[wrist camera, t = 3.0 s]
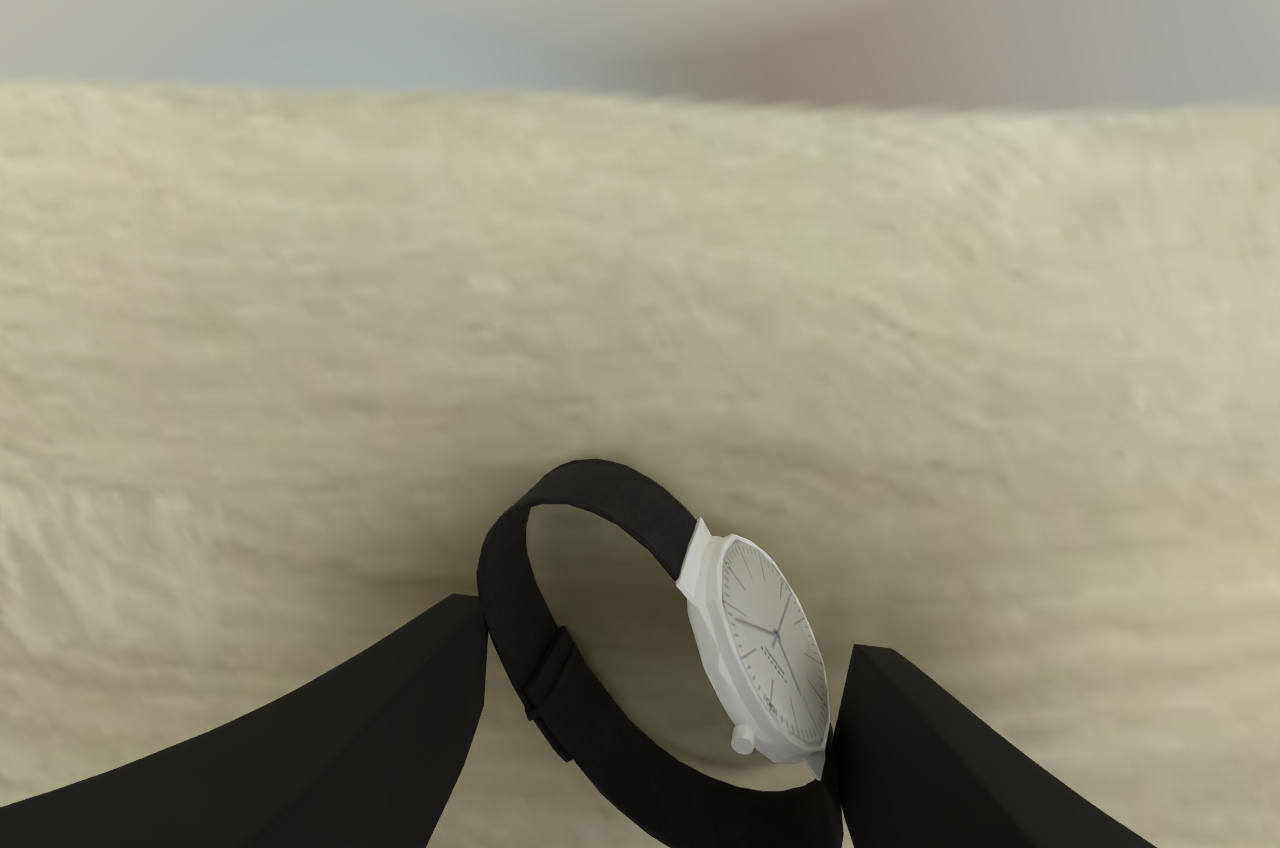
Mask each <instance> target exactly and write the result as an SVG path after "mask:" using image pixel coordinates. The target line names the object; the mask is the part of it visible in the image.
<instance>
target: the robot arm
mask: <svg viewBox="0 0 1280 848" xmlns="http://www.w3.org/2000/svg"><path fill="white" fill-rule="evenodd" d="M484 608H485V603H480V602H479V597H478V596H470V595H462V594H452V595H450V596H448V597H447V598H445V599H443V600H442V601H440V602H439V603H437V604H436V605H434V606H433V607H431V608H429V609H428V610H426V611H425V612H423V613H422V614H420V615H419V616H417V617H416V618H414V619H413V620H411V621H410V622H408V623H407V624H405V625H404V626H402V627H401V628H399V629H397V630H396V631H394V632H393V633H391V634H389V635H388V636H386V637H385V638H383V639H382V640H380V641H378V642H377V643H375V644H374V645H372V646H371V647H369V648H367V649H366V650H364V651H363V652H361V653H359V654H358V655H356V656H354V657H352V658H351V659H349V660H347V661H345V662H344V663H342V664H340V665H338V666H337V667H335V668H333V669H331V670H330V671H328V672H326V673H324V674H323V675H321V676H319V677H317V678H316V679H314V680H312V681H310V682H309V683H307V684H305V685H303V686H302V687H300V688H298V689H296V690H294V691H292V692H290V693H288V694H287V695H285V696H283V697H281V698H279V699H277V700H275V701H273V702H271V703H269V704H267V705H265V706H263V707H261V708H258V709H256V710H254V711H252V712H250V713H248V714H246V715H244V716H241V717H239V718H237V719H235V720H233V721H231V722H229V723H227V724H224V725H222V726H220V727H218V728H215V729H213V730H211V731H209V732H206V733H204V734H201V735H199V736H196V737H194V738H191V739H189V740H186V741H184V742H181V743H179V744H176V745H174V746H171V747H169V748H166V749H164V750H161V751H159V752H156V753H154V754H151V755H149V756H146V757H144V758H141V759H139V760H136V761H134V762H131V763H129V764H126V765H124V766H121V767H119V768H116V769H113V770H111V771H108V772H105V773H102V774H99V775H97V776H94V777H91V778H88V779H85V780H82V781H79V782H76V783H74V784H71V785H68V786H65V787H62V788H59V789H56V790H53V791H50V792H47V793H44V794H41V795H38V796H35V797H32V798H28V799H25V800H22V801H19V802H16V803H13V804H10V805H7V806H4V807H1V808H0V848H426V846H427V844H428V842H429V840H430V837H431V835H432V833H433V831H434V829H435V827H436V825H437V823H438V820H439V818H440V816H441V814H442V812H443V810H444V808H445V805H446V803H447V801H448V799H449V797H450V795H451V793H452V790H453V788H454V786H455V784H456V782H457V780H458V777H459V775H460V773H461V771H462V769H463V766H464V764H465V761H466V758H467V755H468V752H469V749H470V746H471V743H472V740H473V737H474V734H475V731H476V728H477V725H478V722H479V719H480V716H481V713H482V710H483V707H484V695H485V678H486V661H487V644H488V628H487V625H486V622H485V619H484ZM832 742H833V748H834V753H835V760H836V767H837V776H838V784H839V792H840V800H841V805H842V810H843V814H844V818H845V821H846V824H847V827H848V830H849V833H850V836H851V839H852V842H853V845H854V848H1157V847H1155V846H1154V845H1152V844H1151V843H1149V842H1148V841H1146V840H1145V839H1143V838H1142V837H1140V836H1139V835H1137V834H1136V833H1134V832H1133V831H1131V830H1130V829H1128V828H1127V827H1125V826H1124V825H1122V824H1121V823H1119V822H1118V821H1116V820H1115V819H1113V818H1112V817H1110V816H1108V815H1107V814H1106V813H1104V812H1103V811H1101V810H1100V809H1098V808H1097V807H1096V806H1094V805H1093V804H1091V803H1090V802H1088V801H1087V800H1086V799H1084V798H1083V797H1081V796H1080V795H1079V794H1077V793H1076V792H1074V791H1073V790H1072V789H1070V788H1069V787H1068V786H1066V785H1065V784H1064V783H1062V782H1061V781H1060V780H1058V779H1057V778H1056V777H1054V776H1053V775H1052V774H1050V773H1049V772H1048V771H1046V770H1045V769H1043V768H1042V767H1041V766H1039V765H1038V764H1037V763H1035V762H1034V761H1033V760H1031V759H1030V758H1029V757H1028V756H1026V755H1025V754H1024V753H1022V752H1021V751H1020V750H1019V749H1017V748H1016V747H1015V746H1013V745H1012V744H1011V743H1010V742H1008V741H1007V740H1006V739H1005V738H1003V737H1002V736H1001V735H1000V734H998V733H997V732H996V731H994V730H993V729H992V728H991V727H990V726H988V725H987V724H986V723H985V722H983V721H982V720H981V719H980V718H978V717H977V716H976V715H975V714H974V713H972V712H971V711H970V710H969V709H967V708H966V707H965V706H964V705H963V704H961V703H960V702H959V701H958V700H956V699H955V698H954V697H953V696H952V695H950V694H949V693H948V692H947V691H946V690H944V689H943V688H942V687H941V686H940V685H938V684H937V683H936V682H935V681H933V680H932V679H931V678H930V677H929V676H927V675H926V674H925V673H924V672H922V671H921V670H920V669H919V668H917V667H916V666H915V665H914V664H912V663H911V662H910V661H909V660H907V659H906V658H905V657H903V656H902V655H900V654H899V653H898V652H896V651H895V650H893V649H891V648H883V647H875V646H867V645H859V644H854V647H853V651H852V655H851V660H850V664H849V669H848V673H847V678H846V682H845V687H844V691H843V696H842V700H841V705H840V709H839V714H838V718H837V723H836V727H835V732H834V736H833V741H832Z"/></svg>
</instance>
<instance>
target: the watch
mask: <svg viewBox="0 0 1280 848" xmlns="http://www.w3.org/2000/svg"><path fill="white" fill-rule="evenodd" d="M540 504H568V505H571V506H574V507H577V508H580V509H583V510H586V511H589V512H593V513H595V514H597V515H599V516H601V517H603V518H604V519H606V520H608V521H610V522H612V523H614V524H616V525H618V526H619V527H620V528H622V529H623V530H624V531H625V532H627V533H628V534H629V535H630V536H632V537H633V538H634V539H635V540H637V541H638V542H639V543H640V544H642V545H643V546H644V547H645V548H646V549H648V550H649V551H650V552H651V553H652V555H653V556H654V557H655V558H656V559H657V561H658V562H659V563H660V564H661V565H662V567H663V568H664V569H665V570H666V571H667V573H668V574H669V575H670V576H671V577H672V579H673V580H674V581H675V582H676V586H677V587H678V588H679V589H680V591H681V592H682V593H683V594H684V595H685V596H686V598H687V612H688V616H689V619H690V623H691V626H692V630H693V633H694V637H695V640H696V643H697V647H698V650H699V654H700V657H701V661H702V664H703V668H704V670H705V672H706V674H707V676H708V678H709V680H710V682H711V684H712V686H713V688H714V690H715V692H716V694H717V696H718V698H719V700H720V702H721V704H722V706H723V708H724V710H725V711H726V713H727V714H728V716H729V717H730V719H731V720H732V722H733V723H734V725H735V726H736V727H735V728H734V729H733V734H732V742H731V746H732V748H733V749H734V750H735V751H736V752H738V753H739V754H744V755H748V754H751V753H752V751H753V750H754V748H756V749H757V750H758V751H759V752H761V753H762V754H763V755H764V756H766V757H767V758H768V759H769V760H770V761H772V762H773V763H783V764H793V763H797V762H802V761H805V762H806V764H807V765H808V767H809V769H810V770H811V772H812V773H813V775H814V776H815V778H816V779H815V780H814V781H812V782H810V783H808V784H806V785H805V786H802V787H797V788H793V789H789V790H785V791H758V790H752V789H747V788H741V787H737V786H734V785H731V784H728V783H725V782H722V781H720V780H717V779H714V778H711V777H709V776H707V775H705V774H703V773H701V772H699V771H697V770H695V769H693V768H691V767H690V766H688V765H686V764H684V763H682V762H680V761H679V760H677V759H676V758H674V757H673V756H672V755H670V754H669V753H668V752H666V751H665V750H663V749H662V748H661V747H659V746H658V745H657V744H655V743H654V742H653V741H652V740H651V739H650V738H649V737H648V736H647V735H646V734H645V733H643V732H642V731H641V730H640V729H639V728H638V727H637V726H636V725H635V724H634V723H633V722H631V721H630V720H629V718H628V717H627V716H626V715H625V713H624V712H623V711H622V710H621V708H620V707H619V706H618V705H617V703H616V702H615V701H614V700H613V698H612V697H611V696H610V694H609V693H608V692H607V691H606V689H605V688H604V687H603V686H602V684H601V683H600V682H599V681H598V679H597V678H596V677H595V676H594V674H593V673H592V672H591V671H590V669H589V668H588V667H587V665H586V664H585V662H584V659H583V657H582V656H581V654H580V652H579V650H578V649H577V646H576V644H575V642H573V640H572V638H571V636H570V635H569V633H568V631H567V630H566V628H565V626H560V627H559V629H558V627H557V625H556V623H555V621H554V619H553V617H552V615H551V613H550V611H549V609H548V607H547V605H546V603H545V600H544V598H543V596H542V594H541V592H540V590H539V588H538V586H537V584H536V581H535V578H534V575H533V571H532V568H531V565H530V561H529V558H528V554H527V548H526V525H527V521H528V517H529V513H530V509H531V507H533V506H537V505H540ZM477 587H478V595H479V602H480V603H485V608H484V619H485V622H486V625H487V628H488V631H489V634H490V637H491V640H492V643H493V645H494V647H495V649H496V651H497V654H498V656H499V658H500V660H501V662H502V664H503V666H504V668H505V671H506V673H507V675H508V677H509V679H510V681H511V683H512V685H513V687H514V689H515V691H516V692H517V694H518V696H519V698H520V699H521V701H522V703H523V704H524V706H525V712H526V715H527V718H528V720H529V721H531V720H534V722H535V723H536V725H537V726H538V728H539V729H540V730H541V732H542V733H543V735H544V736H545V738H546V739H547V741H548V742H549V743H550V745H551V746H552V748H553V749H554V750H555V752H556V753H557V754H558V755H559V756H560V757H561V758H562V759H563V760H564V761H565V762H566V763H567V762H569V761H570V760H572V759H573V760H574V761H575V762H576V764H577V765H578V766H579V767H580V768H581V770H582V771H583V772H584V773H585V775H586V776H587V777H588V778H589V780H590V781H591V782H592V783H593V784H594V786H595V787H596V788H597V789H598V791H599V792H600V793H601V794H602V795H603V796H604V797H605V798H607V799H608V800H609V801H610V802H611V803H612V804H613V805H614V806H615V807H616V808H617V809H618V810H620V811H621V812H622V813H623V814H624V815H626V816H627V817H628V818H629V819H631V820H632V821H633V822H634V823H635V824H637V825H638V826H639V827H640V828H641V829H643V830H644V831H645V832H646V833H648V834H649V835H650V836H652V837H654V838H655V839H657V840H658V841H660V842H662V843H663V844H665V845H667V846H668V847H670V848H841V847H842V841H843V834H844V833H843V822H842V805H841V800H840V792H839V784H838V776H837V767H836V760H835V753H834V748H833V742H832V741H833V729H832V726H831V723H830V717H831V706H830V699H829V692H828V685H827V678H826V671H825V665H824V662H823V660H822V657H821V654H820V651H819V649H818V646H817V643H816V640H815V638H814V635H813V632H812V629H811V627H810V625H809V622H808V620H807V618H806V616H805V614H804V611H803V609H802V607H801V605H800V602H799V600H798V598H797V596H796V595H795V593H794V592H793V590H792V588H791V587H790V585H789V584H788V582H787V581H786V579H785V577H784V576H783V574H782V573H781V571H780V570H779V568H778V566H777V565H776V564H775V563H774V561H773V560H772V559H771V558H770V557H769V555H768V554H767V553H766V552H764V551H763V550H762V549H761V548H759V547H758V546H757V545H755V544H754V543H753V542H752V541H750V540H748V539H745V538H743V537H740V536H738V535H735V534H729V535H728V536H726V537H724V538H722V537H720V536H712V535H711V534H710V532H709V530H708V528H707V527H706V525H705V523H704V521H703V519H702V518H701V517H699V518H698V519H697V520H696V519H695V518H694V517H693V516H692V515H691V514H690V512H689V511H688V510H687V509H686V508H685V507H684V506H683V505H682V504H681V503H680V502H679V501H678V500H676V499H675V498H674V497H673V496H672V495H671V494H670V493H669V492H668V491H666V490H665V489H664V488H663V487H661V486H660V485H659V484H657V483H656V482H654V481H653V480H651V479H650V478H648V477H646V476H645V475H643V474H641V473H639V472H637V471H636V470H634V469H632V468H630V467H628V466H626V465H623V464H619V463H615V462H611V461H607V460H601V459H586V460H574V461H571V462H568V463H565V464H562V465H560V466H558V467H557V468H555V469H553V470H552V471H550V472H549V473H547V474H546V475H544V477H543V478H542V479H541V480H540V481H539V482H538V483H537V484H536V485H535V486H534V487H532V488H531V489H530V490H529V491H528V492H527V493H526V494H525V495H524V496H523V497H522V498H521V499H520V500H518V501H517V502H516V503H515V504H514V505H513V506H511V507H510V508H509V509H508V510H507V511H506V512H505V513H503V514H502V515H501V516H500V517H499V519H498V520H497V521H496V523H495V524H494V525H493V526H492V528H491V529H490V530H489V532H488V533H487V535H486V538H485V540H484V543H483V545H482V549H481V554H480V559H479V564H478V569H477Z"/></svg>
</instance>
